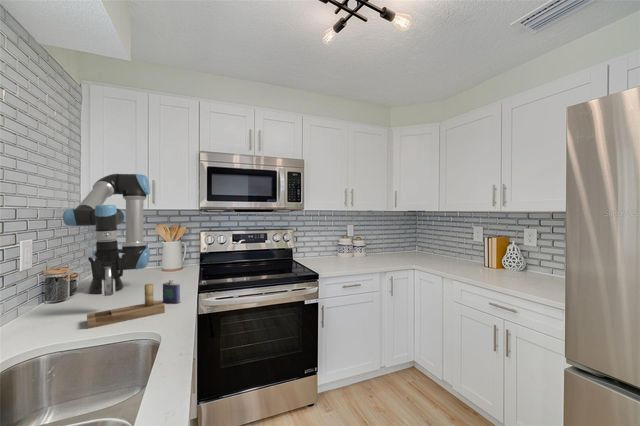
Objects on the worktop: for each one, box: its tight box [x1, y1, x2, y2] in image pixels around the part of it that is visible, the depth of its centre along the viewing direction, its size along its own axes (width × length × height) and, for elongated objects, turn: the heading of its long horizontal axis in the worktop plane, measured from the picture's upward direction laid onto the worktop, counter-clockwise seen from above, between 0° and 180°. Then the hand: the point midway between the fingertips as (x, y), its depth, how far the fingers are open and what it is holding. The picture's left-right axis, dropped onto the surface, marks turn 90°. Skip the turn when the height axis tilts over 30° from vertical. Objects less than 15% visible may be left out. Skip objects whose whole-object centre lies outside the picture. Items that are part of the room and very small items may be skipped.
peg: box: [103, 267, 114, 297], centre depth 129 cm, size 3×3×12 cm
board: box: [86, 283, 166, 329], centre depth 122 cm, size 9×26×12 cm, turn 130°
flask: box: [162, 280, 181, 305], centre depth 140 cm, size 9×3×11 cm, turn 74°
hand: (108, 293), depth 129 cm, fingers closed on peg, 3 cm apart
